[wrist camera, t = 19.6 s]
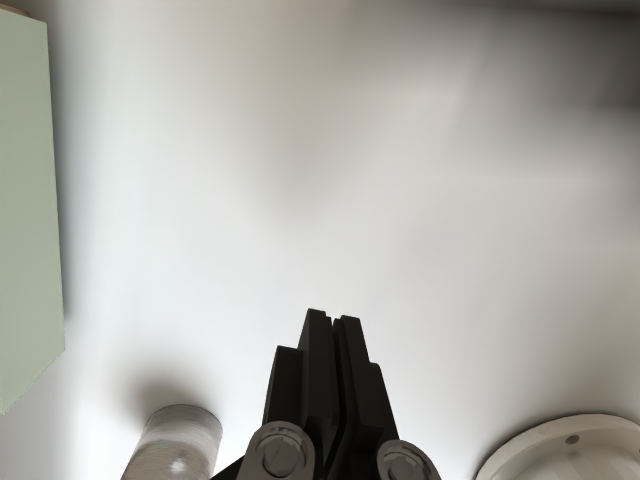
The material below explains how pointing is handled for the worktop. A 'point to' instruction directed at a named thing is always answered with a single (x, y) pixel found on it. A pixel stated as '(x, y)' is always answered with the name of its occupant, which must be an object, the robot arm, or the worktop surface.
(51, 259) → the tray
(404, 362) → the worktop surface
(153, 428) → the shiny gray cylinder
